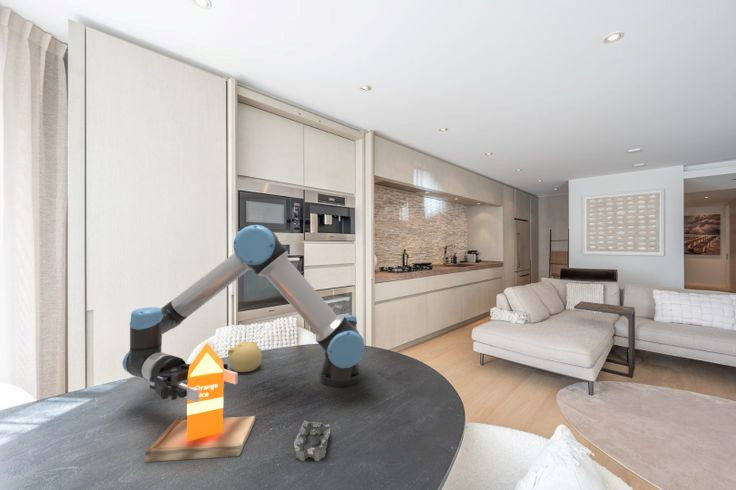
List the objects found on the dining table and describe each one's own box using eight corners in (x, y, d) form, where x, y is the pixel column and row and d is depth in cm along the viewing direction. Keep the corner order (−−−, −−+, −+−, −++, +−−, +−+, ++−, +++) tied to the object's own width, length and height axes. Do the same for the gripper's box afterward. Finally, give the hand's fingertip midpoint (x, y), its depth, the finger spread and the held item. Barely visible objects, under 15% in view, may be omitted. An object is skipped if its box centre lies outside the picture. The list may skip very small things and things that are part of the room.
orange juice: (186, 441, 70) (187, 354, 70) (188, 422, 78) (189, 343, 78) (223, 432, 74) (224, 349, 74) (222, 414, 82) (223, 339, 82)
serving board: (254, 421, 84) (255, 413, 84) (239, 455, 70) (239, 445, 70) (177, 425, 82) (177, 417, 82) (145, 462, 68) (145, 451, 68)
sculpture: (249, 361, 128) (250, 336, 128) (267, 368, 121) (267, 341, 121) (223, 370, 119) (223, 342, 119) (240, 378, 112) (241, 348, 112)
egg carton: (324, 463, 68) (324, 445, 68) (290, 462, 68) (291, 443, 68) (332, 434, 79) (332, 418, 79) (303, 433, 79) (303, 417, 79)
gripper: (203, 369, 94) (254, 384, 84) (116, 400, 74) (169, 425, 64) (203, 344, 94) (254, 356, 84) (116, 369, 74) (170, 389, 64)
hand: (218, 386), depth 74 cm, fingers closed on orange juice, 10 cm apart
